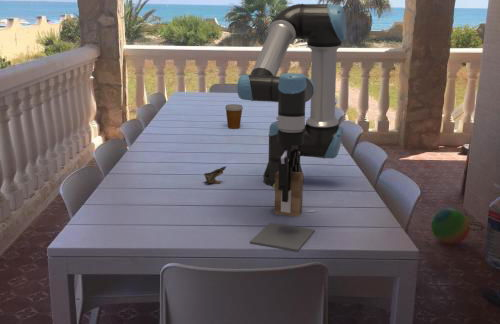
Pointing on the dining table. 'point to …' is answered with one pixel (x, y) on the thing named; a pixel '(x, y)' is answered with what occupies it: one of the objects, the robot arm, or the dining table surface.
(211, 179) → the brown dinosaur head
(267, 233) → the rubber mat
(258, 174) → the dining table surface
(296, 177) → the walnut block
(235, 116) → the disposable coffee cup
